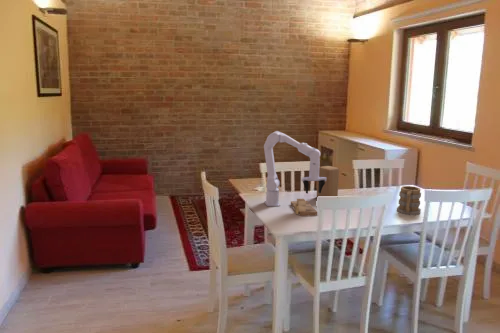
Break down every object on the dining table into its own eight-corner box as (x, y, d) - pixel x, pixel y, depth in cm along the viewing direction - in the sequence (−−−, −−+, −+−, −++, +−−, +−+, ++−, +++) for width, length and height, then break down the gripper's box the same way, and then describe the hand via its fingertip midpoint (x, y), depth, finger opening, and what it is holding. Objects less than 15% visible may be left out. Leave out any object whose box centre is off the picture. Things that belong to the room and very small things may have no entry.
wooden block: (315, 197, 287) (317, 166, 283) (326, 195, 293) (328, 165, 289) (327, 200, 280) (328, 169, 276) (338, 198, 285) (340, 167, 281)
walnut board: (290, 204, 270) (290, 201, 269) (306, 204, 271) (306, 201, 271) (299, 215, 249) (300, 212, 248) (317, 215, 250) (317, 211, 250)
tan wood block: (294, 211, 255) (295, 198, 253) (303, 211, 255) (303, 198, 254) (296, 214, 250) (297, 201, 248) (305, 214, 250) (305, 201, 249)
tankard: (399, 206, 270) (401, 182, 266) (421, 210, 264) (423, 185, 261) (393, 215, 252) (395, 190, 249) (416, 219, 246) (419, 193, 243)
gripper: (304, 171, 253) (302, 195, 256) (328, 171, 255) (327, 194, 258) (300, 169, 260) (299, 191, 263) (324, 169, 262) (323, 191, 265)
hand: (313, 193), depth 261 cm, fingers open, 7 cm apart
